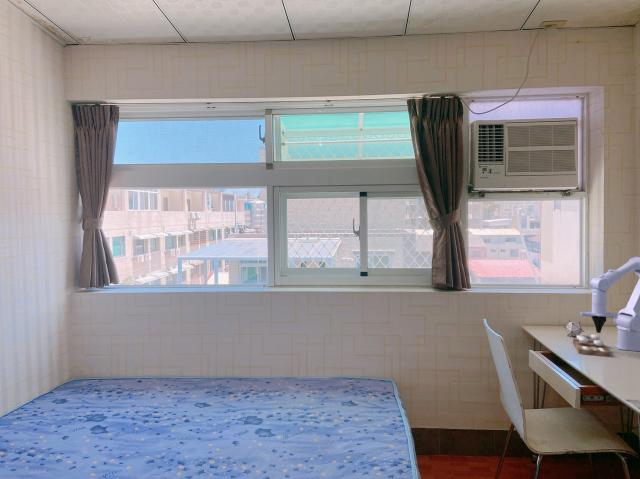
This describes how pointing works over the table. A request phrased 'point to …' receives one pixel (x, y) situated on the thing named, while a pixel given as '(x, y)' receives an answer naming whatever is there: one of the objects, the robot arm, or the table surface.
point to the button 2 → (595, 337)
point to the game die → (573, 328)
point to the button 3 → (598, 343)
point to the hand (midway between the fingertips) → (598, 332)
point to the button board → (590, 348)
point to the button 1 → (583, 339)
